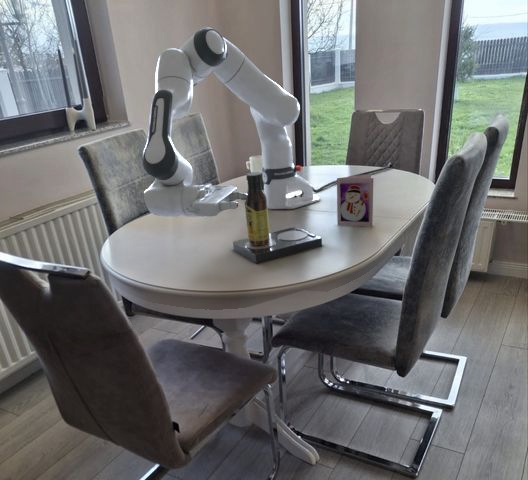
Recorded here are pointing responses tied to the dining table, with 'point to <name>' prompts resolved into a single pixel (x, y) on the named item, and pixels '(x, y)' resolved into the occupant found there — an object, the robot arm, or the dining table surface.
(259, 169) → the character mug
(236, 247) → the hot plate
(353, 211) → the greeting card
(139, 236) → the dining table surface
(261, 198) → the sauce bottle
